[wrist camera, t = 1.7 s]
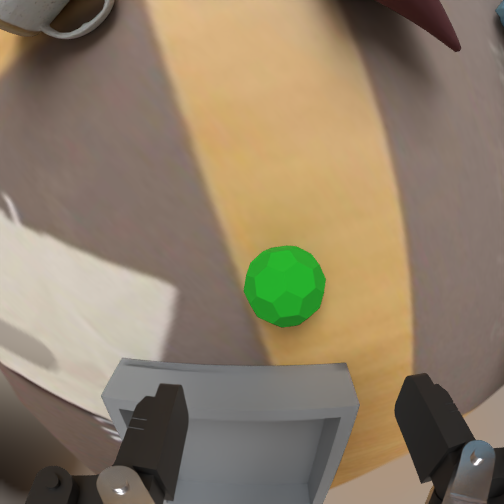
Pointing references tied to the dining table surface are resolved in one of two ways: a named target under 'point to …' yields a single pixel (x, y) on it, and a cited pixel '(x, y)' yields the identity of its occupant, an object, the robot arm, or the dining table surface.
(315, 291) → the polyhedron
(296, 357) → the dining table surface
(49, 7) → the ceramic mug
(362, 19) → the dining table surface
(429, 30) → the icecream
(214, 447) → the crate
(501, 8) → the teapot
